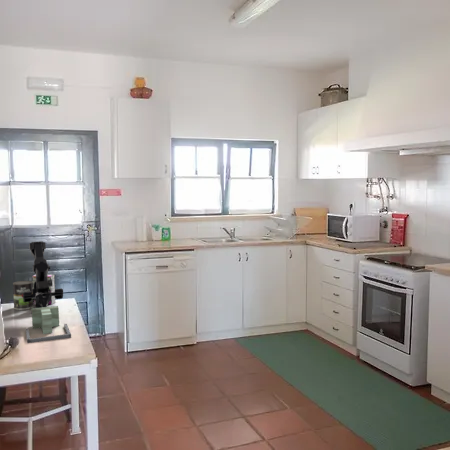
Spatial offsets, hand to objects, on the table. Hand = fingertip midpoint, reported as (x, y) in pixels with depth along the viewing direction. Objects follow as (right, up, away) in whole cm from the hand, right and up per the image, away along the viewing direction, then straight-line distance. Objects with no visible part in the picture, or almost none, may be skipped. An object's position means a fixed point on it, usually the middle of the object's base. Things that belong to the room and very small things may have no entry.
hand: (44, 309), depth 245 cm
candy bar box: (-15, -3, +41) cm, 43 cm away
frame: (+6, -9, -14) cm, 18 cm away
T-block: (+3, -8, -7) cm, 11 cm away
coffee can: (-23, -4, +32) cm, 40 cm away
